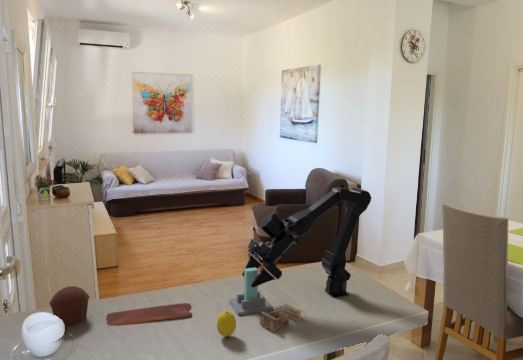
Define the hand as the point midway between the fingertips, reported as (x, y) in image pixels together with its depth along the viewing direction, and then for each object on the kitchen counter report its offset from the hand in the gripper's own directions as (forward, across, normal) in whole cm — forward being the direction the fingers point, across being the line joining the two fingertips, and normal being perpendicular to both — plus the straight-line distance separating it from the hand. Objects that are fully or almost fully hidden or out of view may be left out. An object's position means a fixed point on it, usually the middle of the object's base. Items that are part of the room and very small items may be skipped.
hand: (247, 281), depth 140 cm
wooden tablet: (+29, -5, -15) cm, 33 cm away
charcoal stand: (+5, 0, +7) cm, 9 cm away
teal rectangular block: (+5, 0, +7) cm, 8 cm away
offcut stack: (-1, +10, +15) cm, 18 cm away
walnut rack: (+3, +14, +10) cm, 17 cm away
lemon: (+15, +16, -2) cm, 22 cm away
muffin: (+45, -9, -32) cm, 56 cm away
